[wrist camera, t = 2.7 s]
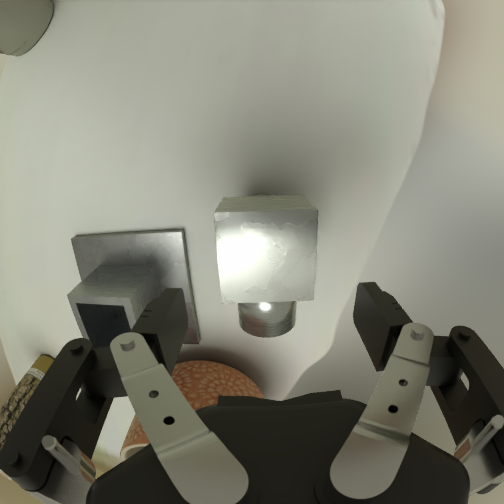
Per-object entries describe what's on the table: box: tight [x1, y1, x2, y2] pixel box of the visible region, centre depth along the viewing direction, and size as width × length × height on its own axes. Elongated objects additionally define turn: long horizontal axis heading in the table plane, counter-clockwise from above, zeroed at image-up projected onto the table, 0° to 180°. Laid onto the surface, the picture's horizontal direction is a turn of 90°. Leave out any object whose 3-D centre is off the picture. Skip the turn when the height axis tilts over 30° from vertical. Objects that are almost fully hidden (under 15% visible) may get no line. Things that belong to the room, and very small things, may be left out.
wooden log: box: [0, 355, 54, 480], centre depth 26 cm, size 7×7×25 cm
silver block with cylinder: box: [214, 193, 318, 337], centre depth 23 cm, size 9×6×11 cm, turn 2°
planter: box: [120, 360, 265, 461], centre depth 29 cm, size 17×17×15 cm
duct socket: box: [67, 229, 200, 348], centre depth 27 cm, size 14×14×8 cm
